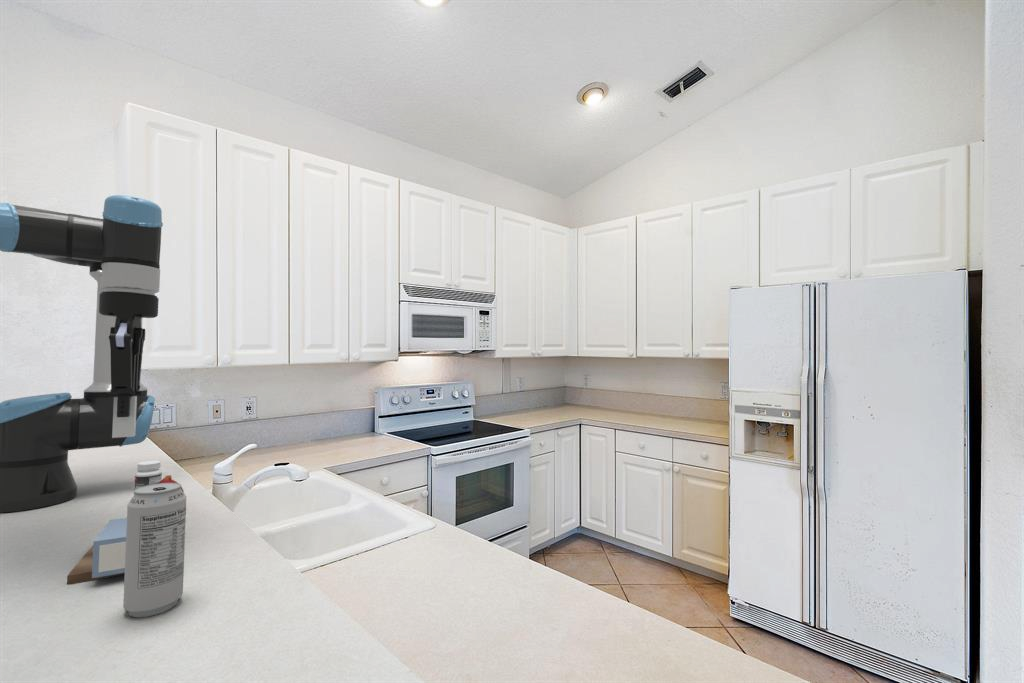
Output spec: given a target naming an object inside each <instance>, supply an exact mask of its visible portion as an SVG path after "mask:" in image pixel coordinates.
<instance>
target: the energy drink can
mask: <svg viewBox="0 0 1024 683" xmlns="http://www.w3.org/2000/svg"><path fill="white" fill-rule="evenodd" d="M181 487H182V484H181V483H180V482H179V483H178V482H177V483H160V484H153V485H147V486H143V487H140V488H137V489H136V490H135V491H134V490H133V495H132V498H131V499H130V501H129V502H128V504H127V512H126V518H127V530H126V554H125V575H124V580H123V581H124V582H123V600H122V601H123V605H122V607H123V609H124V610H125V611H128V615H129V616H130V617H134V618H147V617H152V616H156V615H159V614H162V613H164V612H166V611H168V610H171V609H172V608H173V607H175V606H176V605H177V603H178V600H179V599H180V598H181V597H182V596H183V594H184V576H185V575H184V574H185V573H184V572H185V571H184V569H185V545H186V544H185V542H186V522H187V520H186V519H187V518H186V517H187V495H186V494H185V492H183V491H184V490H183V491H182V489H183V488H182V489H181ZM134 493H135V495H134Z"/></svg>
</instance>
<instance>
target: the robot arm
mask: <svg viewBox="0 0 1024 683" xmlns="http://www.w3.org/2000/svg"><path fill="white" fill-rule="evenodd" d="M162 213H163V212H162V208H161V207H160V206H159V205H158V204H157V203H155V202H153V201H150V200H149V199H148V200H147V199H145V198H141V197H136V196H129V195H120V194H119V195H118V194H116V195H109V196H108V197H106V198H105V200H104V204H103V211H102V217H103V218H98V217H91V216H86V215H85V216H84V215H81V214H74V213H63V212H58V211H54V210H53V211H52V210H47V209H41V208H36V207H29V206H22V205H17V204H12V203H9V202H0V252H4V253H16V254H17V253H18V254H25V255H27V254H28V255H31V256H33V257H37V258H41V259H45V260H50V261H53V262H56V263H61V264H65V265H66V264H67V265H72V266H80V267H88V268H89V272H88V273H89V276H90V277H92V278H93V280H95V281H96V283H97V288H96V289H97V291H96V314H95V332H94V333H95V334H94V336H95V337H94V358H93V359H94V360H93V378H92V383H91V384H90V385H89V386H87V388H85V389H84V390H83V398H72V395H71V393H70V392H59V393H47V394H46V393H45V394H41V395H40V394H39V395H32V396H25V397H23V396H22V397H18V398H11V399H7V400H3V401H1V402H0V514H1V513H12V512H13V513H14V512H20V511H27V510H34V509H39V508H44V507H49V506H53V505H58V504H62V503H64V502H67V501H70V500H72V499H74V498H76V497H77V495H78V494H77V492H78V491H77V490H78V486H77V482H76V481H75V477H74V475H73V473H72V471H71V467H70V466H69V462H68V460H69V451H75V450H77V451H78V450H86V449H87V450H88V449H96V448H97V449H98V448H108V447H121V448H122V447H123V446H129V445H137V444H141V443H143V442H144V441H145V440H146V439H147V437H148V435H149V432H150V428H151V425H152V420H153V416H154V415H153V414H154V410H155V407H154V406H155V402H156V401H155V397H154V396H153V395H151V394H148V388H147V386H145V385H143V384H142V383H141V376H142V375H141V372H142V361H143V354H144V350H143V349H144V343H145V340H146V328H143V319H145V318H146V319H153V318H156V317H158V316H159V315H158V314H159V300H160V299H159V297H158V295H155V294H157V293H159V292H160V289H161V288H160V285H161V284H160V282H161V281H160V279H161V269H160V258H161V245H162V227H163V225H164V224H163V221H162V219H163V218H162V217H163V216H162Z"/></svg>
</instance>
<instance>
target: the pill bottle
mask: <svg viewBox="0 0 1024 683" xmlns="http://www.w3.org/2000/svg"><path fill="white" fill-rule="evenodd" d="M160 468H161V461H160V460H147V461H142V462H138V463H137V471H136V472H135V473H134V485H133V486H134V488H133V496H134V495H135V493H134V491H135V490H136V489H137V488H140V487H143V486H147V485H153V484H157V483H159V482H160V481H161V480H162V479H163V478H162V475H163V472H162V469H160Z"/></svg>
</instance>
